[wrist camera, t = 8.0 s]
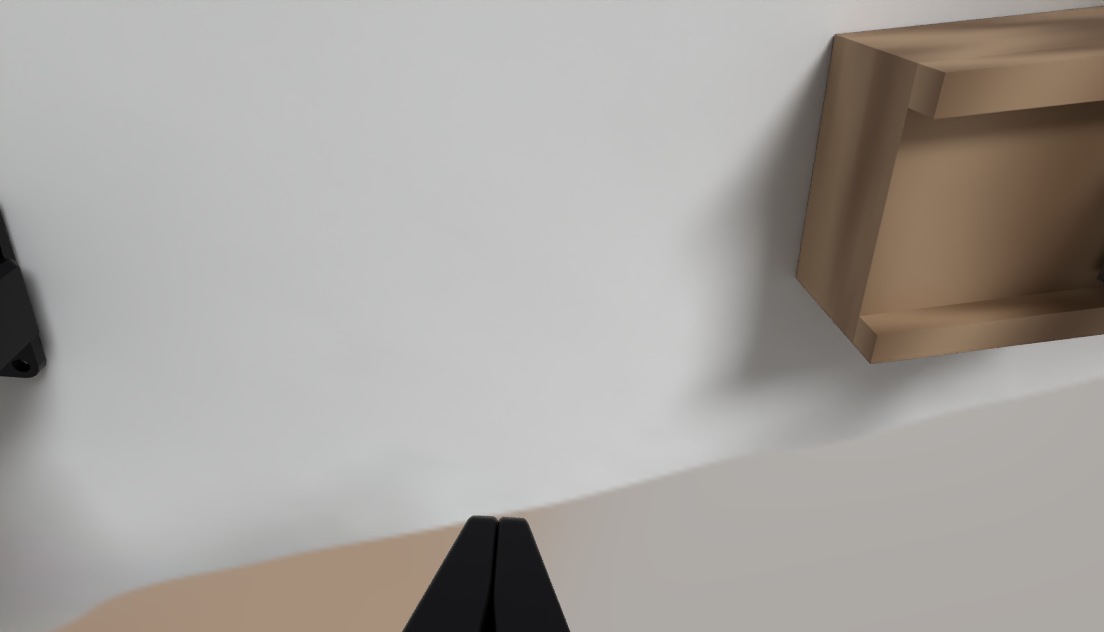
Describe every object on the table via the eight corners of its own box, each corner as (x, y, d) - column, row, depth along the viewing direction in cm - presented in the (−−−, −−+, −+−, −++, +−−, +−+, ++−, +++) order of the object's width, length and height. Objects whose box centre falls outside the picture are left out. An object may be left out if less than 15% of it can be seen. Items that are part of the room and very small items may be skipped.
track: (795, 278, 22) (870, 364, 18) (834, 34, 18) (945, 72, 13) (1066, 245, 22) (1200, 321, 18) (1170, -1, 18) (1378, 25, 14)
